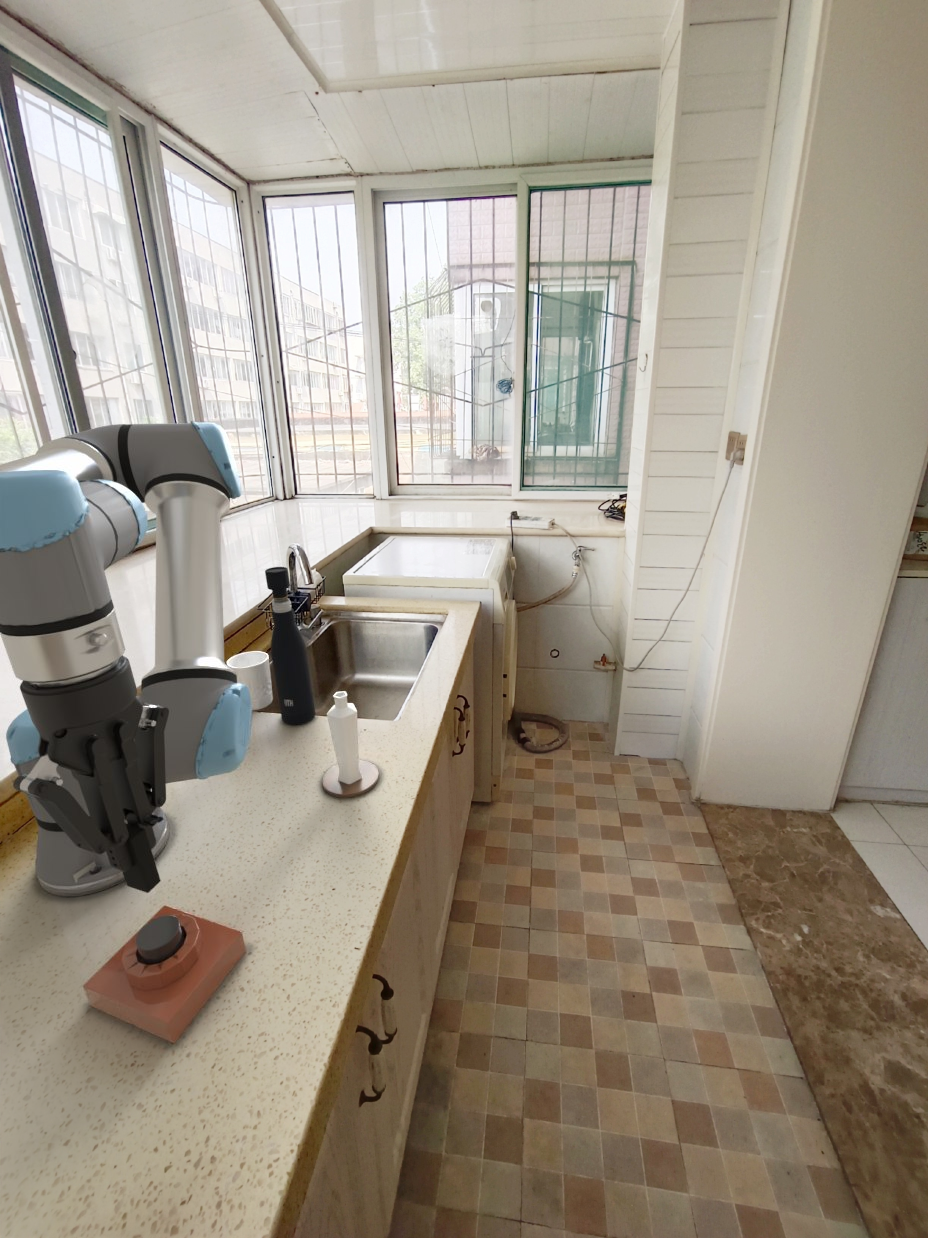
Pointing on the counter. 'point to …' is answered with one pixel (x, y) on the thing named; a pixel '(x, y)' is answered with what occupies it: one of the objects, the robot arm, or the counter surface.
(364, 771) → the coaster
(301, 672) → the black water bottle
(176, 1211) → the counter surface
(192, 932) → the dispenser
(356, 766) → the perfume bottle
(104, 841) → the robot arm
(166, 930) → the dark grey disc
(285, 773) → the counter surface
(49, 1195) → the counter surface
